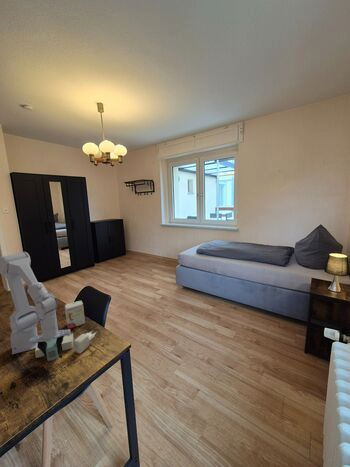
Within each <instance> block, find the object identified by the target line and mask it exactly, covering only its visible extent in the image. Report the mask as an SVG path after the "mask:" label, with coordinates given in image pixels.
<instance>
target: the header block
mask: <svg viewBox="0 0 350 467" xmlns="http://www.w3.org/2000/svg"><path fill="white" fill-rule="evenodd" d="M74 340H75V338H74V332H71V333H70V336H64V338H63V342H62V344H61V348H62V349H61V351H62V352H64V351H68V350H71V349H74V345H73V342H74ZM37 345H38V344H37ZM47 345H48V343H47ZM34 353H35V358H36V359H37V358H41V357H45V355H44V354H43V352H42V351H41V350H40V349H38V347H36V348H35V350H34Z"/></svg>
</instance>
